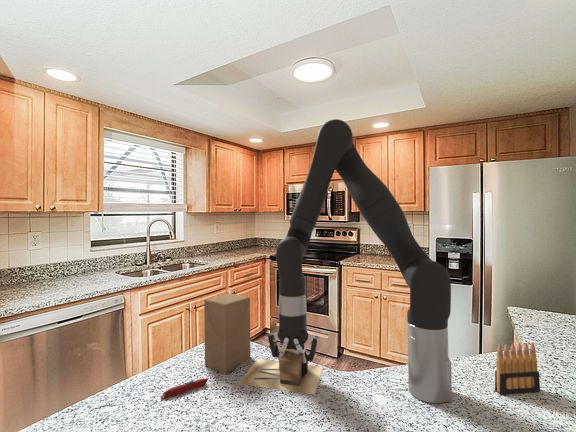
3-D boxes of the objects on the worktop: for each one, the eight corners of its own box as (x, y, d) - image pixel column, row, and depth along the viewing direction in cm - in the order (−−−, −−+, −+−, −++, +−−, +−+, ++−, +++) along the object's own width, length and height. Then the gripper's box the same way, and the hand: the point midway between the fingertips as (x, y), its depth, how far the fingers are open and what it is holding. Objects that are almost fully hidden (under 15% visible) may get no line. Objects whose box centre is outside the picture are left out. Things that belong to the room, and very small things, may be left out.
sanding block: (306, 368, 84) (305, 347, 84) (298, 385, 75) (298, 362, 75) (289, 366, 85) (288, 345, 85) (280, 383, 76) (279, 359, 77)
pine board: (323, 371, 85) (323, 366, 85) (314, 400, 72) (314, 394, 72) (257, 363, 90) (257, 358, 90) (238, 389, 77) (238, 383, 77)
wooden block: (226, 375, 84) (225, 304, 84) (204, 365, 90) (203, 299, 90) (251, 361, 92) (250, 296, 92) (229, 353, 98) (228, 292, 98)
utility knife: (207, 383, 80) (207, 376, 80) (208, 385, 79) (208, 377, 79) (160, 398, 74) (160, 390, 74) (161, 400, 73) (161, 392, 73)
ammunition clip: (500, 394, 73) (499, 345, 73) (494, 390, 75) (493, 342, 75) (540, 392, 74) (539, 343, 74) (533, 388, 76) (532, 340, 76)
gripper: (321, 308, 82) (322, 370, 82) (271, 305, 86) (272, 364, 86) (316, 316, 75) (317, 384, 75) (262, 313, 79) (263, 377, 78)
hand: (293, 373), depth 80 cm, fingers closed on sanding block, 5 cm apart
